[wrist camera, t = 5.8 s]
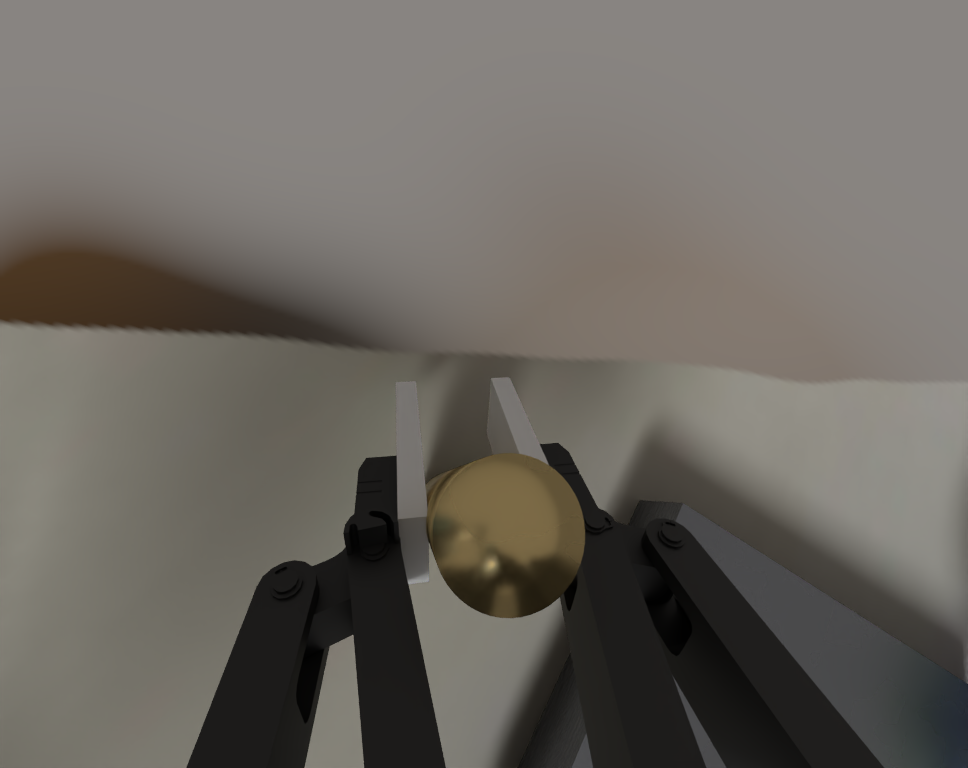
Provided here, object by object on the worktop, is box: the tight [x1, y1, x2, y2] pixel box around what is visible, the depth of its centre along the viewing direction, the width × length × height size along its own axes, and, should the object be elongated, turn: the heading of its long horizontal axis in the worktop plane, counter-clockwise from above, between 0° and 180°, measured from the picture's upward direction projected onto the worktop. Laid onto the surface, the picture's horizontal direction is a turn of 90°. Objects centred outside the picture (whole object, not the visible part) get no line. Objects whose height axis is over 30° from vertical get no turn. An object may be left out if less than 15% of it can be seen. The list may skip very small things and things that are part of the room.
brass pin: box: [425, 453, 585, 618], centre depth 14 cm, size 3×3×12 cm
